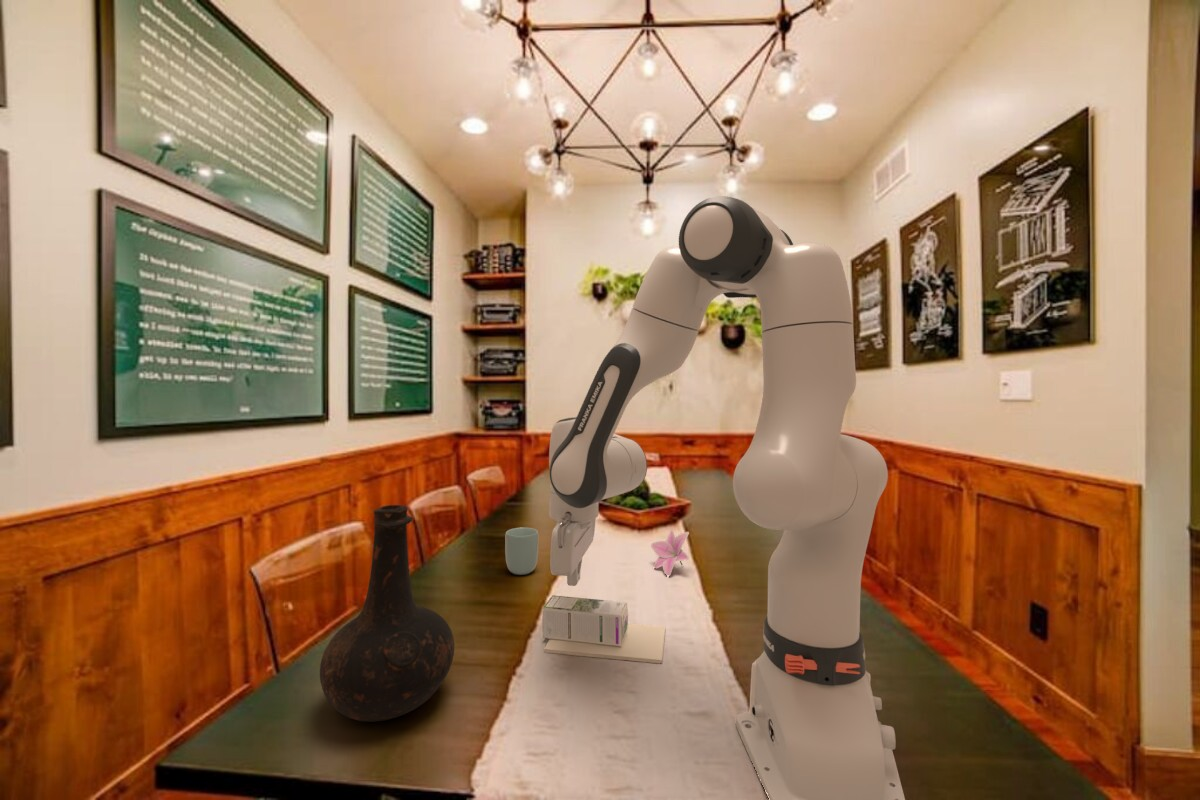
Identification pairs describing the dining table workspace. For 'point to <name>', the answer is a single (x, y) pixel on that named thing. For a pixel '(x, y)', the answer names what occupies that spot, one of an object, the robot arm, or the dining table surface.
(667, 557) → the lily
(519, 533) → the cup
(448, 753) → the dining table surface
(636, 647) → the mat
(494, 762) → the dining table surface
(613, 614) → the syrup box
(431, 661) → the glass bottle
